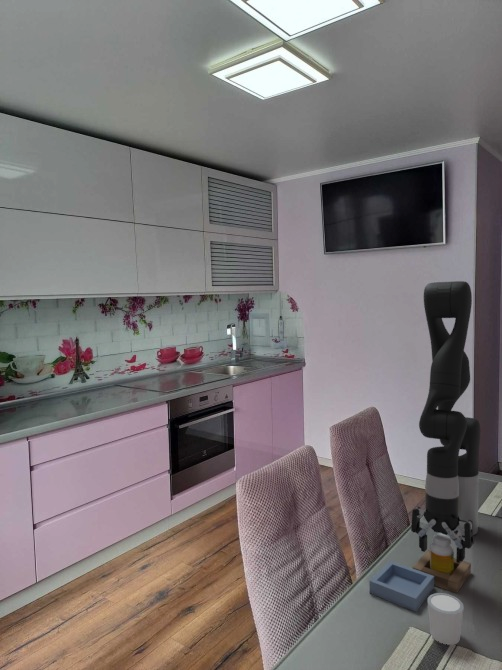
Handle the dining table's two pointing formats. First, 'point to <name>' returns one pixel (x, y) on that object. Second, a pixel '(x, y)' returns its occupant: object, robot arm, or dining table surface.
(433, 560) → the supplement bottle
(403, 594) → the tray
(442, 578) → the collar
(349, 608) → the dining table surface
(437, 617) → the shot glass
